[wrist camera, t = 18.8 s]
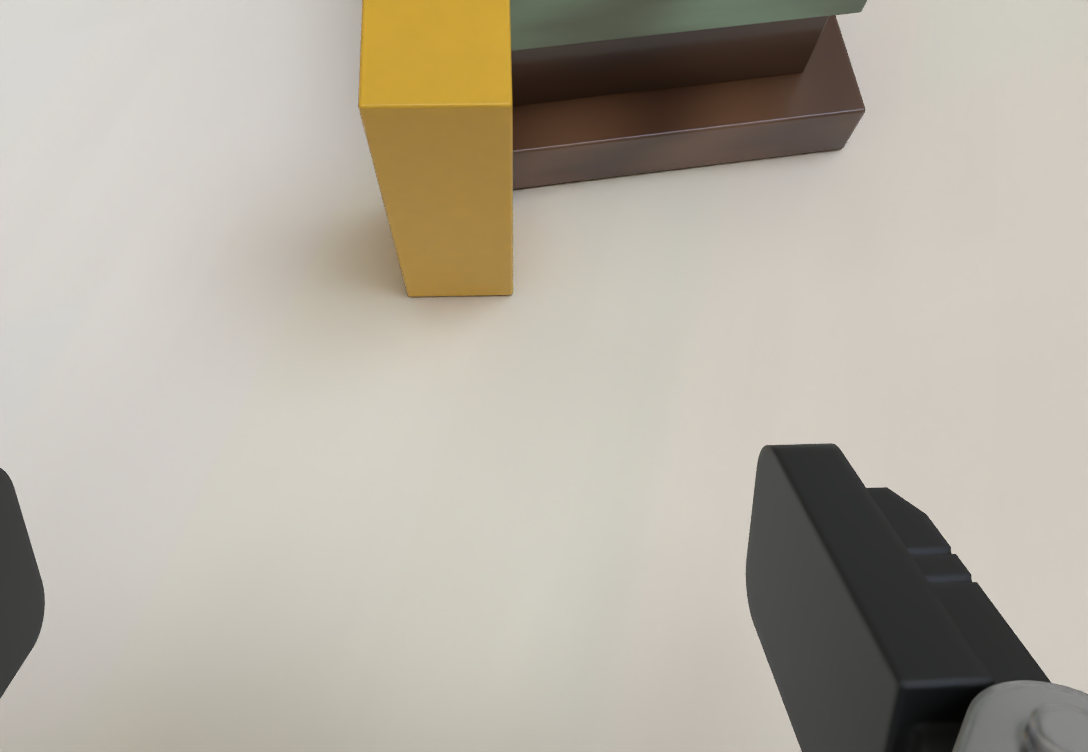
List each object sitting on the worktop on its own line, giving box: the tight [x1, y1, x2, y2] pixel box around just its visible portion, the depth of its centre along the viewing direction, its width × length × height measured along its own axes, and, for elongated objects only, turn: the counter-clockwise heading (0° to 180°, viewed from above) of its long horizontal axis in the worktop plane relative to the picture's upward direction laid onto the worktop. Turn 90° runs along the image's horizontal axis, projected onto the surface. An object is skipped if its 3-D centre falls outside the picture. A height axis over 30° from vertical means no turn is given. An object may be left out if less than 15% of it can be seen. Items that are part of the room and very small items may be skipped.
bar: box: [358, 0, 513, 297], centre depth 23 cm, size 3×3×9 cm
